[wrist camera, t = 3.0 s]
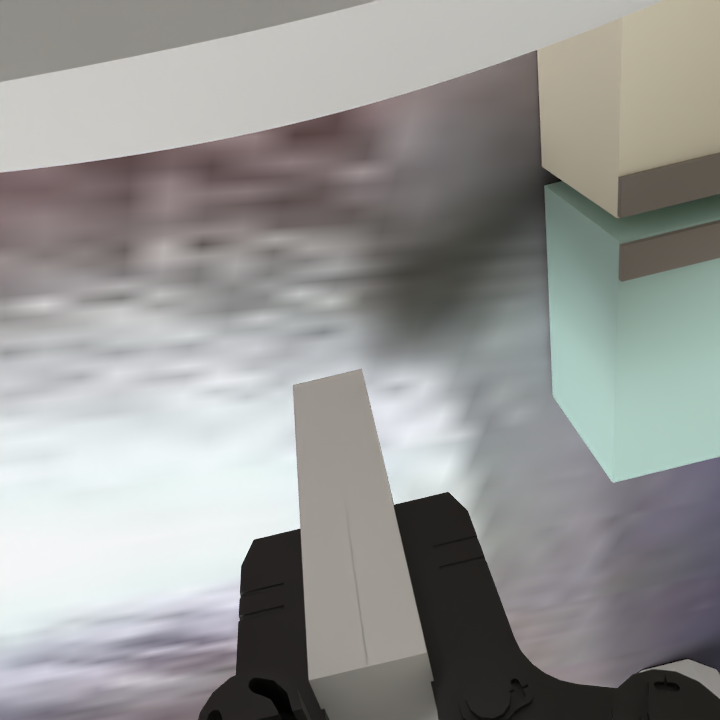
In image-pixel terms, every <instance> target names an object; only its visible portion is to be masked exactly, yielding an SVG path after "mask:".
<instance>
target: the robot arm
mask: <svg viewBox="0 0 720 720" xmlns="http://www.w3.org/2000/svg"><path fill="white" fill-rule="evenodd" d="M293 397H294V415H295V434H296V453H297V472H298V490H299V509H300V528H301V529H297V530H293V531H289V532H285V533H280V534H276V535H272V536H268V537H264V538H259V539H255V540H254V541H253V543H252V545H251V547H250V549H249V551H248V553H247V555H246V557H245V560H244V562H243V564H242V566H241V584H240V594H241V598H240V604H239V618H240V621H239V624H238V644H237V664H236V676H233V677H231V678H229V679H228V680H227V681H226V682H225V683H224V684H222V685H221V686H220V687H219V688H218V689H217V690H215V691H214V692H213V693H212V695H211V696H210V698H209V699H208V701H207V703H206V704H205V706H204V707H203V709H202V710H201V712H200V715H199V719H198V720H720V698H718V697H717V696H716V695H715V694H714V693H712V692H711V691H710V690H709V689H707V688H706V687H705V686H704V685H703V684H701V683H700V682H699V681H697V680H695V679H692V678H690V677H688V676H685V675H683V674H681V673H678V672H676V671H667V670H657V669H651V670H647V671H644V672H640V673H637V674H633V675H632V676H631V677H630V678H628V679H627V680H626V681H625V682H624V683H623V684H622V685H621V686H619V688H608V687H599V686H590V685H580V684H574V683H570V682H565V681H560V680H558V679H556V678H554V677H552V676H550V675H547V674H545V673H544V672H542V671H541V670H540V669H538V668H537V667H536V666H534V665H533V664H532V663H531V662H530V661H529V660H528V659H527V658H526V656H525V655H524V654H523V653H522V652H521V650H520V648H519V646H518V644H517V642H516V640H515V638H514V636H513V633H512V630H511V627H510V625H509V622H508V619H507V617H506V614H505V611H504V608H503V606H502V603H501V600H500V597H499V595H498V592H497V589H496V587H495V584H494V581H493V578H492V576H491V573H490V570H489V568H488V565H487V562H486V561H485V557H484V554H483V551H482V548H481V546H480V543H479V540H478V539H477V535H476V532H475V529H474V527H473V524H472V521H471V519H470V516H469V513H468V511H467V510H466V509H465V508H464V507H463V506H462V505H461V504H460V503H459V502H458V501H457V500H456V499H455V498H454V497H453V496H452V495H451V494H450V493H449V492H446V493H442V494H438V495H434V496H429V497H425V498H421V499H417V500H413V501H408V502H404V503H400V504H396V505H394V503H393V498H392V494H391V490H390V485H389V481H388V477H387V473H386V468H385V464H384V460H383V456H382V451H381V447H380V443H379V439H378V435H377V431H376V426H375V422H374V418H373V414H372V410H371V406H370V402H369V397H368V393H367V389H366V385H365V381H364V377H363V372H362V369H359V370H355V371H351V372H346V373H342V374H338V375H334V376H330V377H325V378H321V379H317V380H313V381H308V382H304V383H300V384H296V385H293Z"/></svg>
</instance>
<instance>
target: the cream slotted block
mask: <svg viewBox="0 0 720 720" xmlns="http://www.w3.org/2000/svg"><path fill="white" fill-rule="evenodd" d="M537 58H538V82H539V106H540V131H541V155H542V167H543V168H545V169H546V170H547V171H549V172H550V173H552V174H553V175H555V176H556V177H558V178H559V179H561V180H562V181H563V182H565V183H566V184H568V185H569V186H571V187H572V188H574V189H575V190H577V191H578V192H579V193H581V194H582V195H584V196H585V197H587V198H588V199H590V200H591V201H593V202H594V203H595V204H597V205H598V206H600V207H601V208H603V209H604V210H606V211H607V212H609V213H610V214H611V215H613V216H614V217H616V218H623V217H627V216H631V215H636V214H640V213H644V212H648V211H652V210H656V209H660V208H664V207H668V206H672V205H677V204H681V203H685V202H689V201H693V200H697V199H701V198H705V197H709V196H714V195H718V194H720V0H663V1H661V2H659V3H656V4H654V5H651V6H649V7H646V8H644V9H641V10H639V11H636V12H634V13H631V14H629V15H626V16H624V17H621V18H619V19H616V20H614V21H611V22H609V23H606V24H604V25H601V26H599V27H596V28H594V29H591V30H589V31H586V32H583V33H581V34H578V35H575V36H573V37H570V38H567V39H565V40H562V41H560V42H557V43H554V44H551V45H549V46H546V47H543V48H541V49H538V50H537Z"/></svg>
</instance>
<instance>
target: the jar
mask: <svg viewBox="0 0 720 720" xmlns="http://www.w3.org/2000/svg"><path fill="white" fill-rule="evenodd" d="M661 1H663V0H0V172H9V171H18V170H27V169H35V168H44V167H52V166H60V165H68V164H75V163H83V162H90V161H97V160H104V159H111V158H118V157H124V156H130V155H137V154H143V153H149V152H155V151H161V150H167V149H173V148H179V147H184V146H190V145H195V144H200V143H206V142H211V141H216V140H221V139H226V138H231V137H236V136H241V135H245V134H250V133H255V132H259V131H264V130H268V129H273V128H277V127H282V126H286V125H290V124H294V123H298V122H303V121H307V120H311V119H315V118H319V117H323V116H327V115H331V114H334V113H338V112H342V111H346V110H350V109H353V108H357V107H361V106H364V105H368V104H371V103H375V102H378V101H382V100H385V99H389V98H392V97H396V96H399V95H403V94H406V93H409V92H412V91H416V90H419V89H422V88H426V87H429V86H432V85H435V84H438V83H441V82H444V81H448V80H451V79H454V78H457V77H460V76H463V75H466V74H469V73H472V72H475V71H478V70H481V69H484V68H487V67H490V66H493V65H496V64H499V63H501V62H504V61H507V60H510V59H513V58H516V57H519V56H521V55H524V54H527V53H530V52H532V51H535V50H538V49H541V48H543V47H546V46H549V45H551V44H554V43H557V42H560V41H562V40H565V39H567V38H570V37H573V36H575V35H578V34H581V33H583V32H586V31H589V30H591V29H594V28H596V27H599V26H601V25H604V24H606V23H609V22H611V21H614V20H616V19H619V18H621V17H624V16H626V15H629V14H631V13H634V12H636V11H639V10H641V9H644V8H646V7H649V6H651V5H654V4H656V3H659V2H661Z"/></svg>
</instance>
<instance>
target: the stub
mask: <svg viewBox="0 0 720 720" xmlns="http://www.w3.org/2000/svg"><path fill="white" fill-rule="evenodd" d="M544 188H545V213H546V238H547V263H548V288H549V313H550V339H551V364H552V389H553V397H554V398H555V400H556V401H557V403H558V404H559V406H560V407H561V409H562V410H563V412H564V413H565V414H566V416H567V417H568V419H569V420H570V422H571V423H572V425H573V426H574V427H575V429H576V430H577V432H578V433H579V435H580V436H581V438H582V439H583V441H584V442H585V443H586V445H587V446H588V448H589V449H590V451H591V452H592V454H593V455H594V456H595V458H596V459H597V461H598V462H599V464H600V465H601V467H602V468H603V470H604V471H605V472H606V474H607V475H608V477H609V478H610V480H611V481H612V483H614V482H618V481H622V480H626V479H630V478H634V477H639V476H643V475H647V474H651V473H655V472H659V471H663V470H667V469H671V468H675V467H679V466H683V465H687V464H691V463H695V462H699V461H704V460H708V459H712V458H716V457H720V194H718V195H714V196H709V197H705V198H701V199H697V200H693V201H689V202H685V203H681V204H677V205H672V206H668V207H664V208H660V209H656V210H652V211H648V212H644V213H640V214H636V215H631V216H627V217H623V218H616V217H614V216H613V215H611V214H610V213H609V212H607V211H606V210H604V209H603V208H601V207H600V206H598V205H597V204H595V203H594V202H593V201H591V200H590V199H588V198H587V197H585V196H584V195H582V194H581V193H579V192H578V191H577V190H575V189H574V188H572V187H571V186H569V185H568V184H566V183H565V182H563V181H561V182H556V183H552V184H548V185H544Z"/></svg>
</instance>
